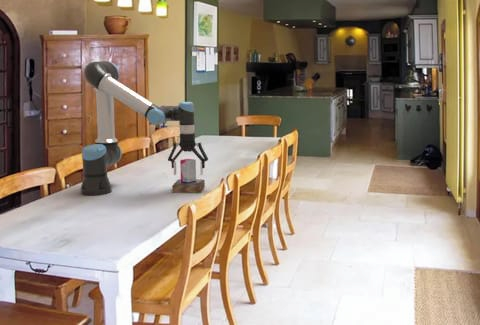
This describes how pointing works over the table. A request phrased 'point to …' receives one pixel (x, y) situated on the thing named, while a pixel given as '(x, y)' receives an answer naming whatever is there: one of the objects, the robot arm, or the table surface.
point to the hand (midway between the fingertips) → (188, 174)
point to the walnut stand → (188, 186)
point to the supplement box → (188, 170)
